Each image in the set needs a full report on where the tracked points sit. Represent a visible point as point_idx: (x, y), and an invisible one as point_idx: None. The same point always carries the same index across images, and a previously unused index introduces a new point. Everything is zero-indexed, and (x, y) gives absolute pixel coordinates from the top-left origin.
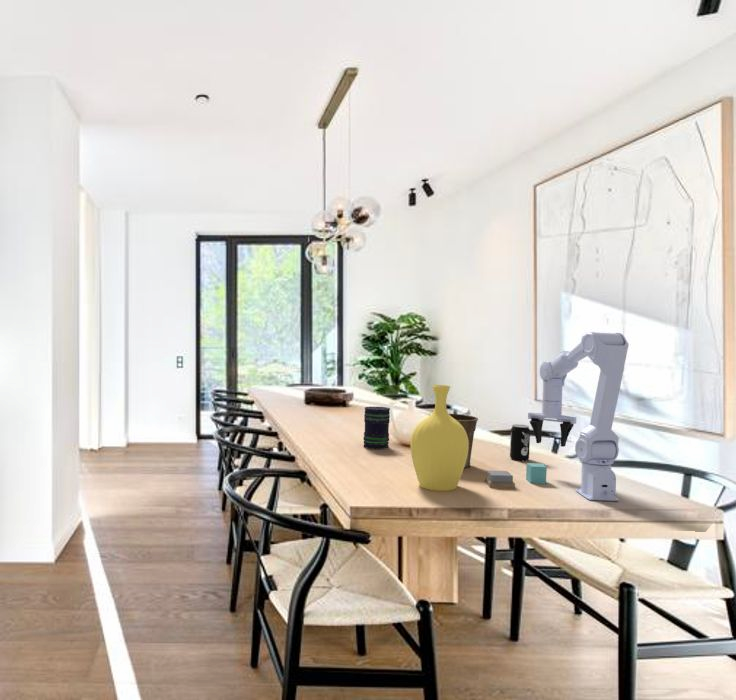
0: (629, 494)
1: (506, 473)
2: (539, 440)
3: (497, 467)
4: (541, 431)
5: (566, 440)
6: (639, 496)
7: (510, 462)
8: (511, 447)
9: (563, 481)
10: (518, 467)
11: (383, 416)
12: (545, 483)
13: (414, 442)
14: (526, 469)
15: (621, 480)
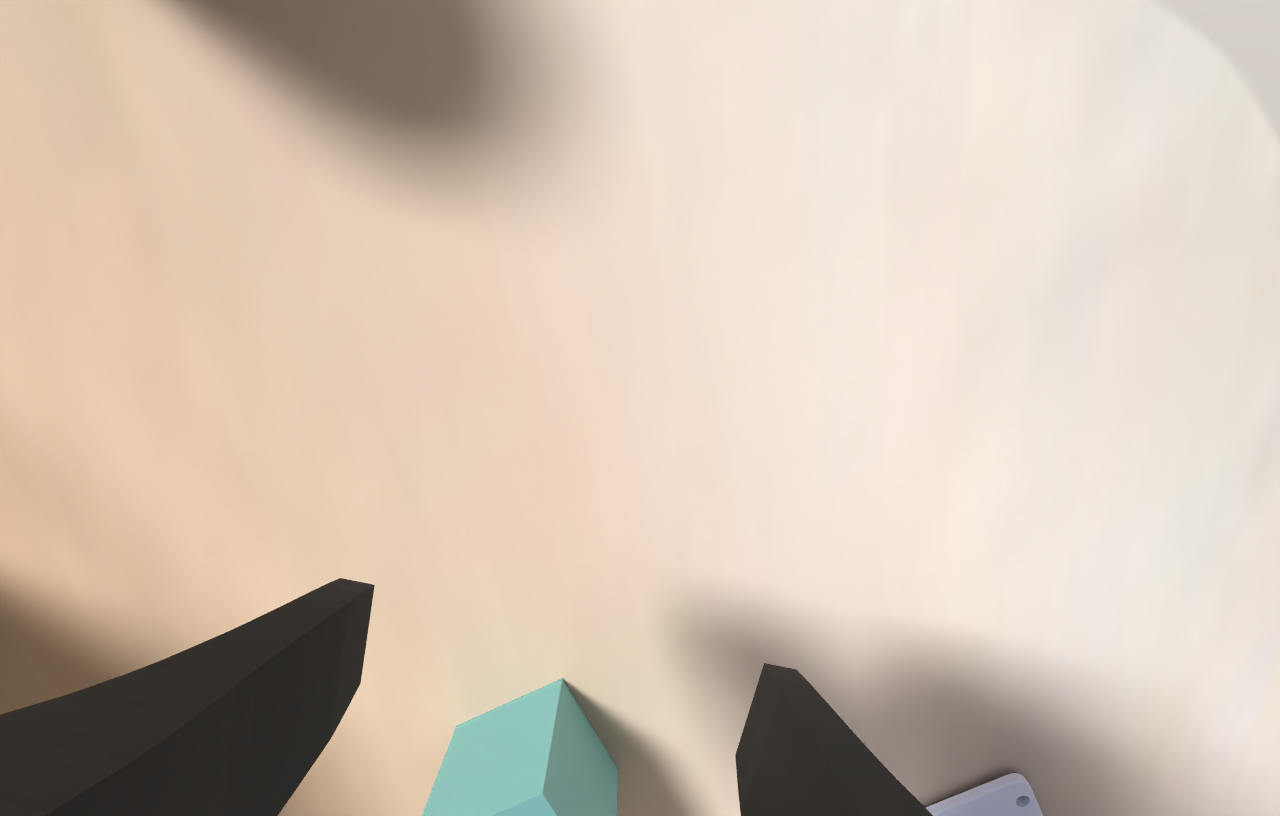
0: (1190, 730)
1: None
2: (342, 678)
3: (89, 434)
4: (235, 694)
5: (847, 736)
6: (1249, 745)
7: (78, 79)
8: None
9: (729, 622)
10: (250, 303)
11: None
12: (614, 772)
13: None
14: (430, 798)
15: (1224, 280)
